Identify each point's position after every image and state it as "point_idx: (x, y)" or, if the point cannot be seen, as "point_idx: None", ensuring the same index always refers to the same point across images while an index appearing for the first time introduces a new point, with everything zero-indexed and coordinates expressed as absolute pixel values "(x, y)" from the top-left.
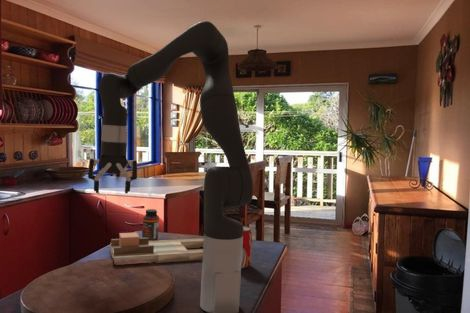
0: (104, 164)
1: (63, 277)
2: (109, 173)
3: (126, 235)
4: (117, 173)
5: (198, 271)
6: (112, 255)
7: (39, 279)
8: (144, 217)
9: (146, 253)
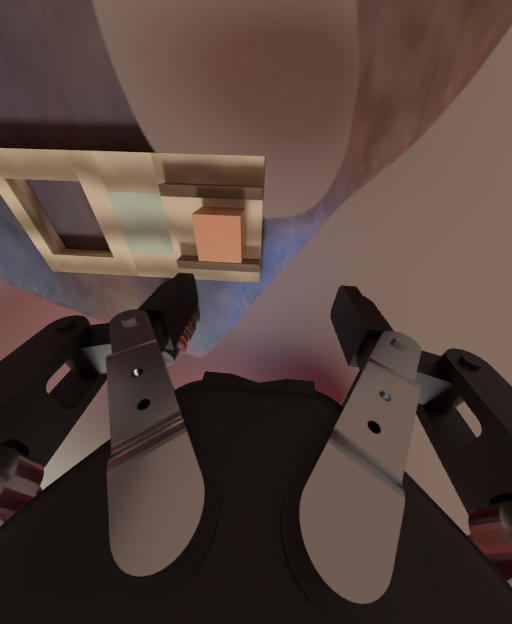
0: (406, 531)
1: (408, 77)
2: (296, 381)
3: (225, 236)
4: (214, 374)
5: (26, 11)
6: (262, 219)
7: (470, 77)
8: (181, 344)
9: (182, 175)
